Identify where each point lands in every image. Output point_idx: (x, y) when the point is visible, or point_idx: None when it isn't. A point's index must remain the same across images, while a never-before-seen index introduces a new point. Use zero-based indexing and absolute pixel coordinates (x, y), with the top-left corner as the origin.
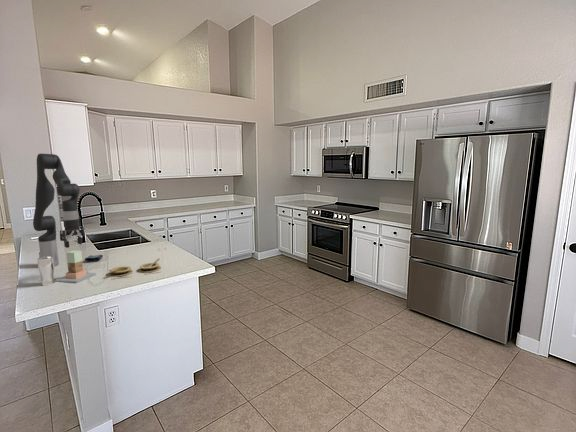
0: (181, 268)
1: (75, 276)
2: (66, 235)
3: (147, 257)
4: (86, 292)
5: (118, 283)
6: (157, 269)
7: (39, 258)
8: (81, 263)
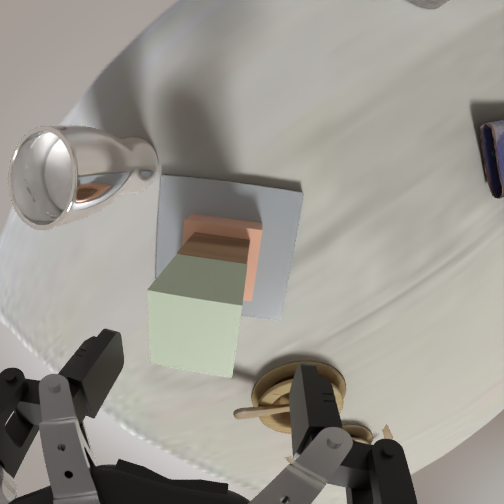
0: (330, 487)
1: None
2: (69, 452)
3: (488, 361)
4: None
5: (187, 427)
6: None
7: (34, 133)
8: None
